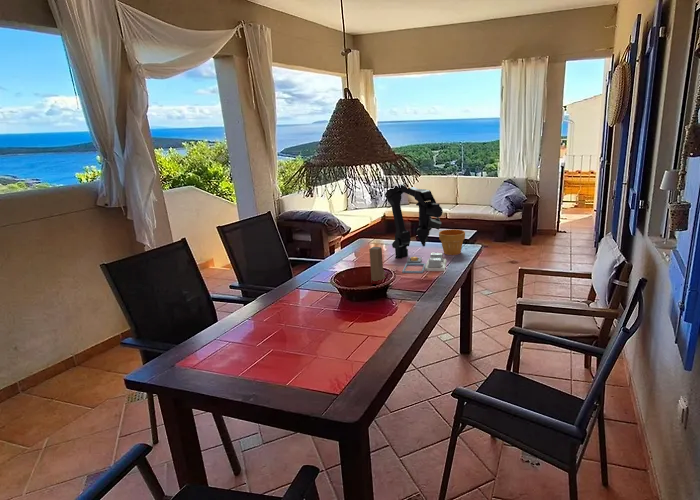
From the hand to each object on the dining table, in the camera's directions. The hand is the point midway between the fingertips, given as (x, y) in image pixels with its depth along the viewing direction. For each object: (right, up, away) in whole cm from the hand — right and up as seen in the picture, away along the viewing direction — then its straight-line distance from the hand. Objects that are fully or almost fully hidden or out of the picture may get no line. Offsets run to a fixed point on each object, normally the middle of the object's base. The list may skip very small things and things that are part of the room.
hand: (424, 243), depth 226 cm
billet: (+4, -13, -8) cm, 15 cm away
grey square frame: (-5, -11, +6) cm, 13 cm away
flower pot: (+18, -6, +17) cm, 26 cm away
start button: (-5, -10, +6) cm, 13 cm away
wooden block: (-24, -20, -21) cm, 38 cm away
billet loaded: (+6, -10, +1) cm, 12 cm away
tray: (-6, -14, -5) cm, 16 cm away
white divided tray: (+5, -12, -3) cm, 14 cm away
